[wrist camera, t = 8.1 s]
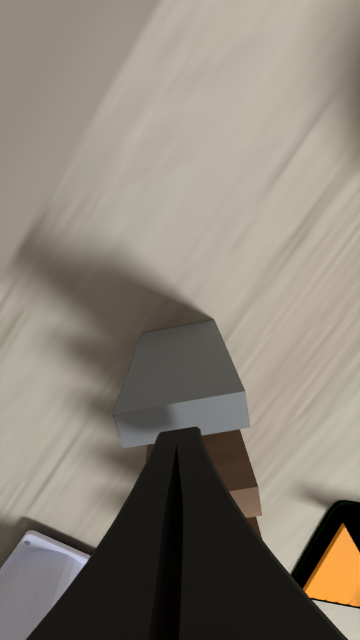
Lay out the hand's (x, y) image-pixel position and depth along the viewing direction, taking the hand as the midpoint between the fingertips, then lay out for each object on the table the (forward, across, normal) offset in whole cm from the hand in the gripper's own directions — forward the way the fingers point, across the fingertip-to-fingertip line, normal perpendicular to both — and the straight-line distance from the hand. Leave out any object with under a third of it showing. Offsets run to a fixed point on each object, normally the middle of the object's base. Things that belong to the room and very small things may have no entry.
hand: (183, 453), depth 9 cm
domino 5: (+10, 0, 0) cm, 10 cm away
